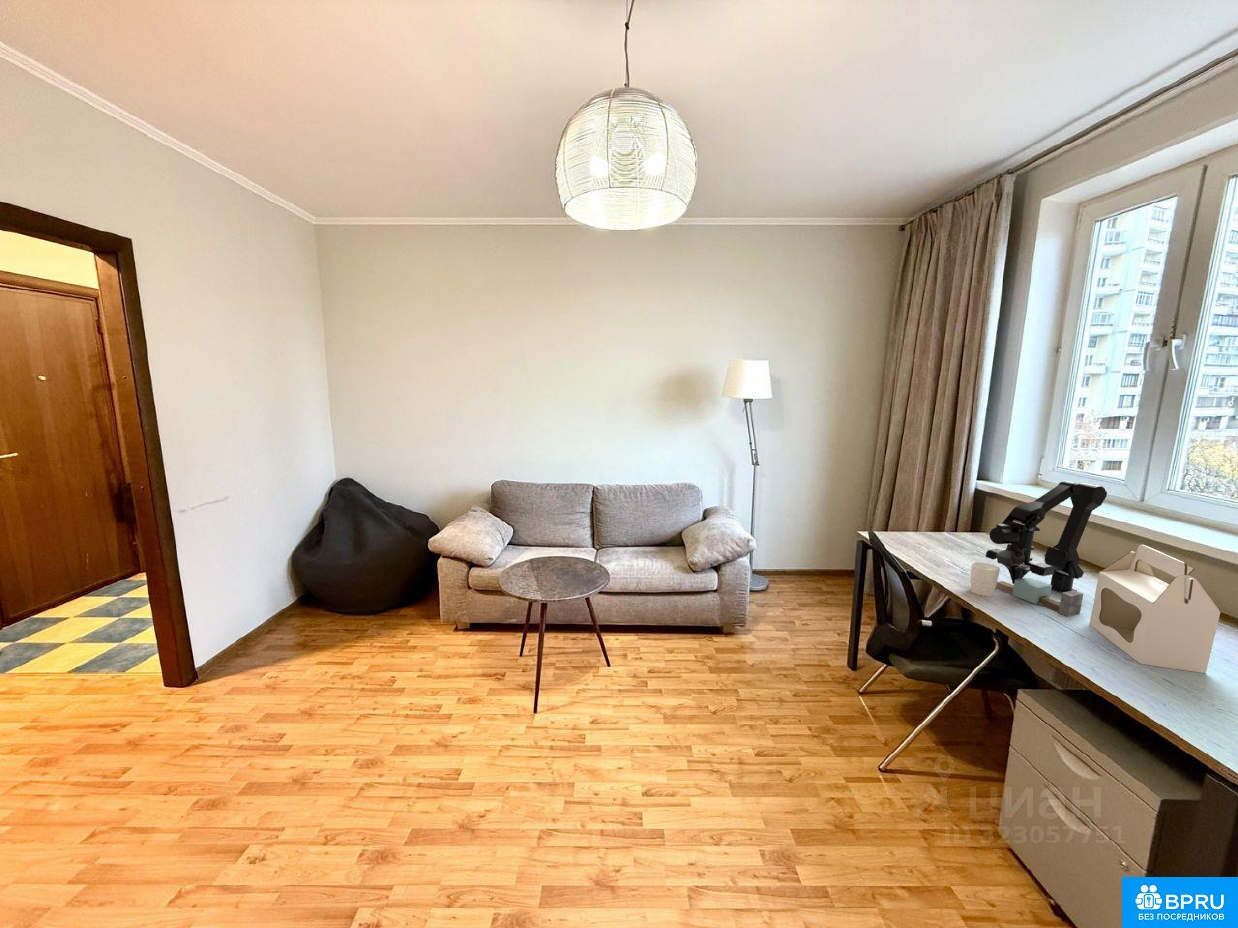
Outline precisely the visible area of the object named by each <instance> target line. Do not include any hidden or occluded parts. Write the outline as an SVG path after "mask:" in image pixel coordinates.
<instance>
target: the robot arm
mask: <svg viewBox="0 0 1238 928" xmlns="http://www.w3.org/2000/svg"><path fill="white" fill-rule="evenodd" d="M1107 496H1108V491H1106V489H1105V487H1104V486H1101V485H1096V484H1090V483H1084V482H1079V483H1077V482H1072V481H1069V480H1064V481H1063V480H1062V481H1060V482H1059V483H1058V485H1057V486H1055V487H1054V488H1052V489H1050V490H1049V491H1047V492H1045V493H1044V494H1043V495H1041V496H1039V497H1038V498H1036V499H1035V500H1033V501H1030V502H1025V503H1021V504H1019V505H1017V506H1015V507H1014V508H1013V509H1012V510H1011V511H1010V512H1009V513H1008V515H1007V516H1006V517H1005V519H1004V520H1003V521H1002V524H1001V523H999V524H996V526H995V527H994V528H991V530H990V531H989V539H990V541H992V543H993V544H996V545H1007V546H1006V548H1005V549H1003V550H1002V549H1000V548H992V549H987V551H986V552H985V558H987V559H990V560H993V561H994V560H996V561H997V563H998V564H1001V565H1002V566H1005V568H1006V569H1007V570H1008V574H1009V576H1010V579H1011V584H1012V585H1014V583H1015V580H1016V579H1022V578H1025V576H1026V575H1027V574H1029V572H1031V574H1034V575H1037V576H1039V577H1040V576H1041V577H1046V576H1051V578H1050V585H1052V588H1051V590H1053V591H1055V592H1059V593H1061V594H1062V593H1063V592H1068V591H1073V590H1074V591H1077V592H1078V590H1077V589H1075V588H1073V584H1074V581H1075V579H1076V580H1079V579H1081V578H1083V575H1084V574H1085V572H1084V570H1083V569H1082V568H1081V567H1080V565H1079V560H1080V556H1079V554H1078V547H1079V544H1080V541H1081V539H1082V536H1083V534H1084V532H1085V529H1086V527H1087V525H1088V522H1089V520H1090V517H1091V515H1092V513H1093V511H1095V510H1096V509H1097V508H1099V507H1101V506H1102V505H1103V503H1104V501H1105V500H1106V498H1107ZM1068 499H1070V501H1071V504H1072V508H1071V510H1070V513H1069V515H1068V517H1067V521H1066V523H1065V526H1064V528H1063V530H1062V533H1061V535H1060V538H1059V540H1058V542H1057V543H1056V544H1055V545H1053V546H1048V547H1047V548H1046V553H1045V554H1044V555H1043V557H1044V563H1043V562H1035V563H1034V562H1033V557H1031V555H1032V551H1034V550H1035V546H1033V544H1034V543H1033V541H1034V537H1035V532H1040V531H1041V529H1040V528H1039V527H1038V526H1037V525H1039V524H1040V523H1041V522H1042V521H1043V520H1044V519H1045V518H1046V515H1047V513H1048V512H1049V511H1051V510H1052V509H1054V508H1056V507H1057V506H1059V505H1060V504H1061V503H1063V502H1065V501H1066V500H1068Z"/></svg>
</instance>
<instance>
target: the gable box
mask: <svg viewBox="0 0 1238 928" xmlns="http://www.w3.org/2000/svg"><path fill="white" fill-rule="evenodd" d="M1151 566H1152V567H1153V568H1155V569H1158V570H1160V571H1162V572H1164V573H1165V574H1168V575H1170V576H1172V577H1173V579H1172V581H1171V582H1169V583H1167V582H1166V581H1163V580H1161V579H1159V578H1157V577H1155V574H1154V573H1153V572H1154V571H1153V570H1152V568H1151ZM1193 571H1195V568H1193V567H1191V566H1189V565H1187V563H1186V562H1184V561H1183V560H1179V559H1177V558H1175V557H1174V556H1170V555H1168V554H1165V553H1164V552H1162V551H1159V550H1157V549H1155V548H1152V547H1150V546H1147V545H1145V544H1139V545H1138V547H1137V550H1136V551H1132V550H1130V552H1128V553H1127V554H1125V555H1123V556H1122V557H1120V558H1118V559H1117V560H1115V561H1114V562H1112V563H1111V564H1109V565H1108V566H1107V567H1104V568H1103V569H1102V570H1101V571H1099V572H1098V576H1097V577H1098V578H1097V582H1096V589H1095V593H1094V598H1093V604H1092V609H1091V614H1090V618H1089V626H1090V627H1092V628H1093V629H1094V630H1095V631H1097V633H1100V634H1101V635H1102V636H1103V637H1105V639H1107V640H1109V641H1110V642H1111V643H1112V644H1114V645H1115V646H1117V647H1118V648H1119V649H1120V650H1122V651H1123V652H1125V653H1126V654H1127V655H1128V656H1130V658H1132V659H1133V660H1135V661H1136V662H1137V663H1139V664H1140V665H1146V666H1153V667H1159V668H1166V669H1175V670H1180V671H1185V672H1186V671H1187V672H1192V673H1201V674H1206V673H1207V670H1208V666H1209V661H1210V657H1211V653H1212V649H1213V645H1214V641H1215V636H1216V633H1217V630H1218V629H1217V627H1218V623H1219V619H1220V617H1221V616H1220V615H1221V609H1219V608H1218V606H1217V605H1216V604H1215V603H1214V601H1213V600H1212V598H1211V597H1210V596H1209V595H1208V593H1207V591H1205V589H1204V588H1203V586H1202V585H1201V583H1200V582H1199V581H1198V580H1197V579H1196V578H1195V577H1193V576H1192V575H1190V574H1192V573H1193Z"/></svg>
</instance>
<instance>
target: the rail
mask: <svg viewBox="0 0 1238 928" xmlns="http://www.w3.org/2000/svg"><path fill="white" fill-rule="evenodd" d="M996 588H998V589H1000V590H1002V591H1005V592H1007V593H1010V594H1012V595H1013V590H1014V584H1013V583H1010V582H1006V581H1004V580H1001V581H997V585H996ZM1083 599H1084V593H1083V592H1080V591H1078V590H1077V591H1074V590H1073V591H1068V592H1063V593H1061V596H1060V601H1058V600H1055V599H1053V598H1051V597H1050V598H1047V597H1044V596H1043V597H1039V603H1037V605H1038V604H1039V605H1041V606H1044V607H1047V608H1049V609H1052V610H1053V611H1054V610H1055V611H1057V612H1058V614H1060V615H1064V616H1065V617H1067V618H1069V617H1072V616H1076V615H1080V614H1081V610H1082V604H1083Z"/></svg>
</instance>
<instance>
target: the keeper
mask: <svg viewBox="0 0 1238 928" xmlns="http://www.w3.org/2000/svg"><path fill="white" fill-rule="evenodd" d="M1050 584H1051V583H1050ZM1050 584H1049V583H1046V582H1043V581H1041V580H1038V579H1034V578H1032V577H1029V576H1028V577H1023V578H1022V579H1016V580H1015V583H1014V584H1013V585H1014V590H1013V594H1012V596H1014V597H1016V598H1020V599H1022V600H1025V601H1027V602H1029V603H1032V604H1035V605H1036V604H1037V605H1038V603H1039V597H1043V596H1044V597H1047V598H1050V599H1051V593H1052V589H1051V588H1052V585H1050Z"/></svg>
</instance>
